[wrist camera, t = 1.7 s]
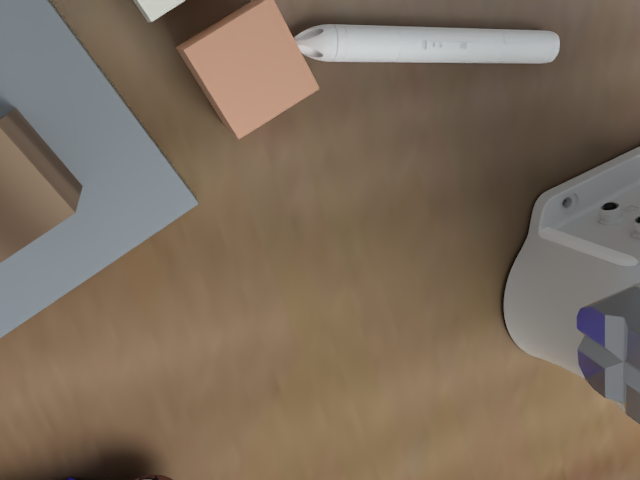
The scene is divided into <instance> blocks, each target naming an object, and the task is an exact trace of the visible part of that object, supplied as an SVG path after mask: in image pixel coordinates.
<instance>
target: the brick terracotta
mask: <svg viewBox="0 0 640 480" xmlns="http://www.w3.org/2000/svg"><path fill="white" fill-rule="evenodd" d="M176 49H177V51H178V52H179V54H180V55H181V57H182V59H183V60H184V62H185V63H186V65H187V67H188V68H189V70H190V71H191V73H192V75H193V76H194V78H195V79H196V81H197V83H198V84H199V86H200V87H201V89H202V91H203V92H204V94H205V96H206V97H207V99H208V100H209V102H210V104H211V105H212V107H213V108H214V110H215V112H216V113H217V115H218V116H219V118H220V120H221V121H222V123H223V124H224V126H225V127H226V128H227V129H228V130H229V131H231V132H232V133H233V134H234V135H235V136H236V137H237V138H238V139H241V138H242V137H244V136H245V135H247V134H248V133H250V132H252V131H253V130H255V129H256V128H258V127H260V126H261V125H263V124H264V123H266V122H268V121H269V120H271V119H272V118H274V117H275V116H277V115H279V114H280V113H282V112H283V111H285V110H287V109H288V108H290V107H291V106H293V105H295V104H296V103H298V102H299V101H301V100H303V99H304V98H306V97H307V96H309V95H310V94H312V93H314V92H315V91H317V90H318V89H320V88H319V86H318V84H317V82H316V80H315V78H314V76H313V75H312V73H311V71H310V69H309V67H308V65H307V63H306V61H305V59H304V57H303V55H302V53H301V51H300V49H299V47H298V45H297V44H296V42H295V40H294V38H293V36H292V34H291V32H290V30H289V28H288V26H287V24H286V22H285V20H284V18H283V16H282V14H281V13H280V11H279V9H278V7H277V5H276V3H275V1H274V0H254V1H251V2H249V3H248V4H246V5H244V6H243V7H241V8H239V9H238V10H236V11H234V12H233V13H231V14H229V15H228V16H226V17H224V18H223V19H221V20H220V21H218V22H216V23H215V24H213V25H211V26H210V27H208V28H206V29H205V30H203V31H201V32H200V33H198V34H196V35H195V36H193V37H191V38H190V39H188V40H187V41H185V42H183V43H182V44H180V45H178V46H177V47H176Z"/></svg>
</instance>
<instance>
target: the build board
mask: <svg viewBox="0 0 640 480" xmlns="http://www.w3.org/2000/svg"><path fill="white" fill-rule="evenodd" d="M15 108H17V109H18V111H19V112H20V113H21V114H22V115H23V116H24V118H25V119H26V120H27V121H28V122H29V123H30V125H31V126H32V127H33V128H34V129H35V131H36V132H37V133H38V134H39V135H40V136H41V138H42V139H43V140H44V141H45V142H46V143H47V145H48V146H49V147H50V148H51V149H52V151H53V152H54V153H55V154H56V155H57V156H58V158H59V159H60V160H61V161H62V162H63V163H64V165H65V166H66V167H67V168H68V169H69V171H70V172H71V173H72V174H73V175H74V176H75V178H76V179H77V180H78V181H79V182H80V183H81V185H82V186H83V187H82V191H81V195H80V198H79V202H78V206H77V209H76V213H75V214H73V215H72V216H70V217H69V218H67V219H66V220H64V221H63V222H61V223H60V224H58V225H57V226H55V227H54V228H52V229H51V230H49V231H48V232H46V233H45V234H43V235H42V236H40V237H39V238H37V239H36V240H34V241H33V242H31V243H30V244H28V245H27V246H25V247H24V248H22V249H21V250H19V251H18V252H16V253H15V254H13V255H12V256H10V257H9V258H7V259H6V260H4V261H3V262H1V263H0V338H1V337H3V336H4V335H6V334H7V333H9V332H10V331H12V330H13V329H14V328H16V327H17V326H19V325H20V324H22V323H23V322H25V321H26V320H28V319H29V318H31V317H32V316H34V315H35V314H37V313H38V312H40V311H41V310H43V309H44V308H46V307H47V306H49V305H50V304H51V303H53V302H54V301H56V300H57V299H59V298H60V297H62V296H63V295H65V294H66V293H68V292H69V291H71V290H72V289H74V288H75V287H77V286H78V285H80V284H81V283H83V282H84V281H85V280H87V279H88V278H90V277H91V276H93V275H94V274H96V273H97V272H99V271H100V270H102V269H103V268H105V267H106V266H108V265H109V264H111V263H112V262H114V261H115V260H117V259H118V258H119V257H121V256H122V255H124V254H125V253H127V252H128V251H130V250H131V249H133V248H134V247H136V246H137V245H139V244H140V243H142V242H143V241H145V240H146V239H148V238H149V237H151V236H152V235H153V234H155V233H156V232H158V231H159V230H161V229H162V228H164V227H165V226H167V225H168V224H170V223H171V222H173V221H174V220H176V219H177V218H179V217H180V216H182V215H183V214H185V213H186V212H188V211H189V210H190V209H192V208H193V207H195V206H196V205H198V204H199V203H198V200H197V198H196V197H195V195H194V194H193V193H192V191H191V190H190V189H189V187H188V186H187V185H186V183H185V182H184V181H183V179H182V178H181V177H180V175H179V174H178V173H177V171H176V170H175V168H174V167H173V166H172V164H171V163H170V162H169V160H168V159H167V158H166V156H165V155H164V154H163V152H162V151H161V150H160V148H159V147H158V146H157V144H156V143H155V142H154V140H153V139H152V138H151V136H150V135H149V134H148V132H147V131H146V129H145V128H144V127H143V125H142V124H141V123H140V121H139V120H138V119H137V117H136V116H135V115H134V113H133V112H132V111H131V109H130V108H129V107H128V105H127V104H126V103H125V101H124V100H123V99H122V97H121V96H120V94H119V93H118V92H117V90H116V89H115V88H114V86H113V85H112V84H111V82H110V81H109V80H108V78H107V77H106V76H105V74H104V73H103V72H102V70H101V69H100V68H99V66H98V65H97V64H96V62H95V61H94V59H93V58H92V57H91V55H90V54H89V53H88V51H87V50H86V49H85V47H84V46H83V45H82V43H81V42H80V41H79V39H78V38H77V37H76V35H75V34H74V33H73V31H72V30H71V29H70V27H69V26H68V24H67V23H66V22H65V20H64V19H63V18H62V16H61V15H60V14H59V12H58V11H57V10H56V8H55V7H54V6H53V4H52V3H51V2H50V0H0V118H1V117H3V116H5V115H6V114H8V113H9V112H11V111H12V110H14V109H15Z"/></svg>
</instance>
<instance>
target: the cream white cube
mask: <svg viewBox="0 0 640 480" xmlns="http://www.w3.org/2000/svg"><path fill="white" fill-rule="evenodd" d="M133 1H134V3H135V4H136V6H137V7H138V9H139V10H140V12H141V13H142V15H143V16H144V18H145V19H146V21H147V22H148V23H149V22H153V21H154V20H156V19H157V18H159V17H160V16H162V15H164V14H165V13H167V12H168V11H170V10H171V9H173V8H175V7H176V6H178V5H179V4H181V3H182V2H184V1H185V0H133Z"/></svg>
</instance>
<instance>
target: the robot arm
mask: <svg viewBox="0 0 640 480" xmlns="http://www.w3.org/2000/svg"><path fill="white" fill-rule="evenodd" d="M564 199H565V201H564V203H563V200H564ZM562 203H563V204H562ZM504 317H505V322H506V326H507V329H508V332H509V334H510V336H511V338H512V339H513V341H514V342H515V343H516V344H517V346H518V347H519V348H520V349H522V350H523V351H524V352H526V353H527V354H529V355H531V356H534V357H537V358H540V359H543V360H546V361H549V362H551V363H554V364H556V365H558V366H560V367H563V368H565V369H567V370H568V371H570V372H572V373H574V374H576V375H578V376H580V377H582V378H583V379H585V380H587V382H588V383H589V384H590V385H591V386H592V387H593V389H594V390H596V391H597V392H598V393H599V394H601V395H602V396H603V397H604V398H607V399H611V400H612V401H613V402H614V403H615V404H616V405H617V406H618V407H620V408H621V409H622V410H623V411H624V412H625V413H626V414H627V415H628V416H629V417H631V418H632V419H633V420H635V421H636V422H637V423H639V424H640V146H639V147H637V148H635V149H633V150H631V151H629V152H627V153H625V154H623V155H621V156H618V157H616V158H614V159H612V160H610V161H608V162H606V163H604V164H602V165H600V166H598V167H596V168H593V169H591V170H589V171H587V172H585V173H583V174H581V175H579V176H577V177H575V178H573V179H571V180H568V181H566V182H564V183H562V184H560V185H558V186H556V187H554V188H552V189H550V190H548V191H546V192H544V193H543V194H542V195H540V196H539V198H538V199H537V201H536V203H535V205H534V208H533V212H532V216H531V221H530V227H529V233H528V236H527V239H526V241H525V243H524V245H523V247H522V249H521V250H520V252H519V254H518V256H517V258H516V260H515V262H514V264H513V266H512V269H511V271H510V274H509V277H508V280H507V284H506V289H505V295H504Z"/></svg>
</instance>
